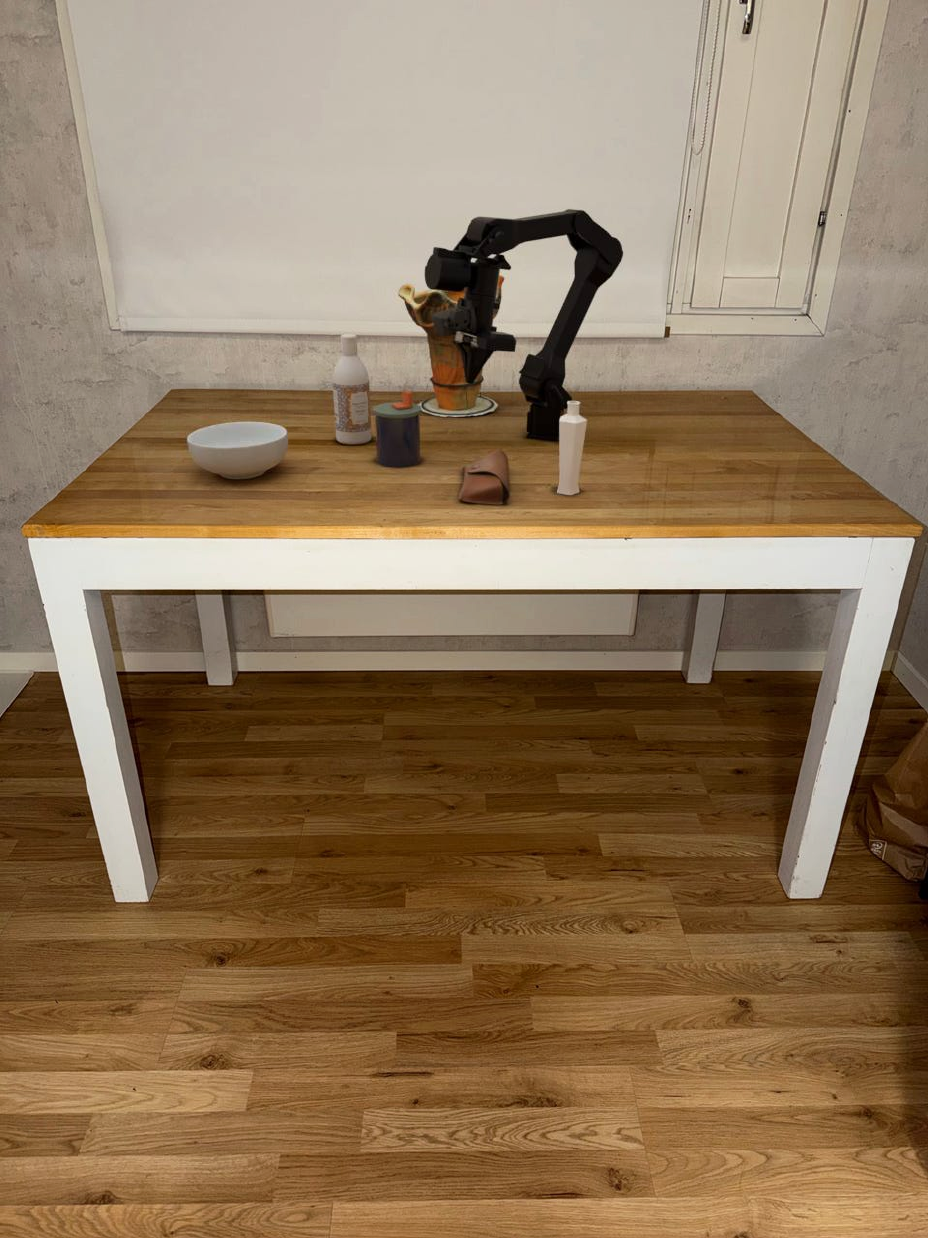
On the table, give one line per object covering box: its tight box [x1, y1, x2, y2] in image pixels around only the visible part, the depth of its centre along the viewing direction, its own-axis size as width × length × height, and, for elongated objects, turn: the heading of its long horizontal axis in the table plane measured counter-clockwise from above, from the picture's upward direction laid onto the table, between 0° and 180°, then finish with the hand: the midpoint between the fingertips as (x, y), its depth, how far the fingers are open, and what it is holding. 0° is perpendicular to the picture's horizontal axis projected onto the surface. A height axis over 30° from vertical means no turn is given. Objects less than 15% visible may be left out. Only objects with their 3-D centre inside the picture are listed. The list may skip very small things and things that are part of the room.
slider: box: [391, 389, 413, 410], centre depth 154 cm, size 3×3×3 cm
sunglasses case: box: [458, 448, 511, 506], centre depth 146 cm, size 18×7×7 cm
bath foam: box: [332, 333, 372, 446], centre depth 165 cm, size 7×7×20 cm
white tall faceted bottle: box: [556, 400, 588, 496], centre depth 142 cm, size 5×4×15 cm
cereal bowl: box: [186, 421, 289, 480], centre depth 151 cm, size 17×17×7 cm
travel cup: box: [372, 401, 422, 468], centre depth 157 cm, size 9×9×10 cm
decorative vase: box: [397, 274, 505, 418], centre depth 186 cm, size 21×23×28 cm
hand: (469, 383), depth 160 cm, fingers closed
